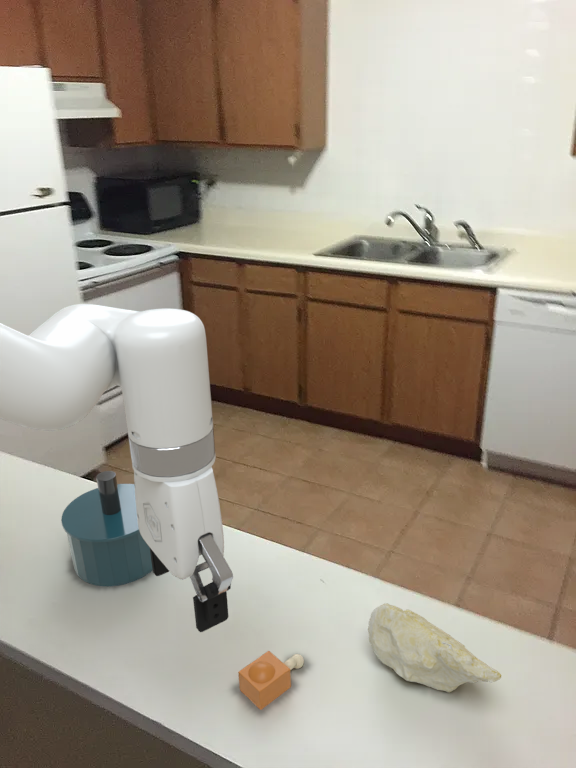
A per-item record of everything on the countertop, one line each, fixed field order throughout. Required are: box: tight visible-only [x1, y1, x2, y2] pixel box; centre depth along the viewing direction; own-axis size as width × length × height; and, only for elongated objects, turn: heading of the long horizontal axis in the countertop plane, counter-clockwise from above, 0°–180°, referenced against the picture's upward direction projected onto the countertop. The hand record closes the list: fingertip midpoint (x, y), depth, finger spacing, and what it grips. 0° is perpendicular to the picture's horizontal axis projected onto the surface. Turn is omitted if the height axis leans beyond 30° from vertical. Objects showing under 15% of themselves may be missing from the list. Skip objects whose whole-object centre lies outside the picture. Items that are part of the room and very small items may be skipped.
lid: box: [60, 470, 140, 542], centre depth 100 cm, size 15×15×7 cm
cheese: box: [367, 602, 502, 693], centre depth 81 cm, size 15×7×15 cm
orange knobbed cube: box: [237, 650, 305, 711], centre depth 81 cm, size 8×4×4 cm, turn 132°
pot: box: [66, 532, 153, 587], centre depth 103 cm, size 14×14×8 cm
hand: (189, 595), depth 67 cm, fingers open, 9 cm apart
